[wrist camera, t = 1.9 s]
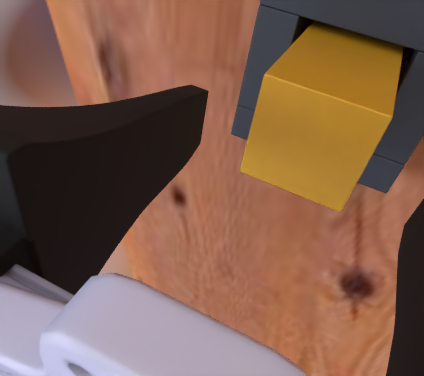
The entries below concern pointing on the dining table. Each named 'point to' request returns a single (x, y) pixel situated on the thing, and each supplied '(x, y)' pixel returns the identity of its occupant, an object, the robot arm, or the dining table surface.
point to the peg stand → (361, 23)
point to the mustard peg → (323, 113)
